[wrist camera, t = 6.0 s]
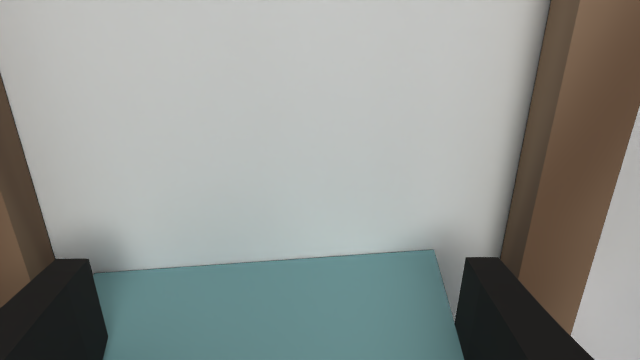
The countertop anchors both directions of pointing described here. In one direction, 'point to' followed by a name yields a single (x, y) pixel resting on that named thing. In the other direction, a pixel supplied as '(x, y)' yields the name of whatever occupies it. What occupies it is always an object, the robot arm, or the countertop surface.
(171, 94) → the countertop surface
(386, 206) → the countertop surface
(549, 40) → the guide lane
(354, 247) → the countertop surface
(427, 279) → the block
